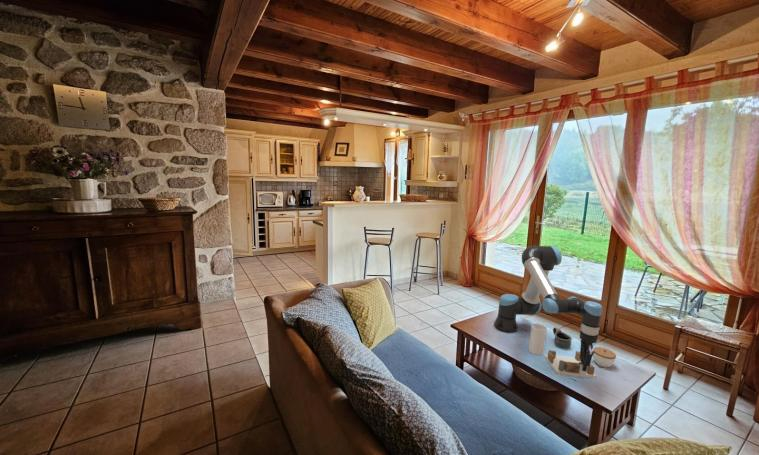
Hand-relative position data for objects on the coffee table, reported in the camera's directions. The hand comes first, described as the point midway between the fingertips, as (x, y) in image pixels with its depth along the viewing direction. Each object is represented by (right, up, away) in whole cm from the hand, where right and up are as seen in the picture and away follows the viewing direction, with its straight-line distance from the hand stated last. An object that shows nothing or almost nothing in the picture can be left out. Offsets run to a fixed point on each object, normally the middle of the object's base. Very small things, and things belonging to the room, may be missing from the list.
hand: (582, 375), depth 165 cm
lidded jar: (+23, -2, +19) cm, 30 cm away
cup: (-10, +1, +30) cm, 31 cm away
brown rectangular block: (0, -1, +8) cm, 8 cm away
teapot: (+10, +1, +38) cm, 39 cm away
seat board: (+1, -2, +14) cm, 14 cm away
